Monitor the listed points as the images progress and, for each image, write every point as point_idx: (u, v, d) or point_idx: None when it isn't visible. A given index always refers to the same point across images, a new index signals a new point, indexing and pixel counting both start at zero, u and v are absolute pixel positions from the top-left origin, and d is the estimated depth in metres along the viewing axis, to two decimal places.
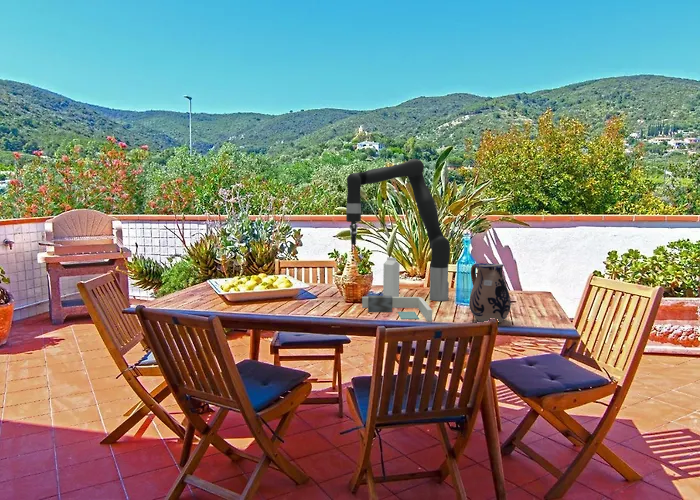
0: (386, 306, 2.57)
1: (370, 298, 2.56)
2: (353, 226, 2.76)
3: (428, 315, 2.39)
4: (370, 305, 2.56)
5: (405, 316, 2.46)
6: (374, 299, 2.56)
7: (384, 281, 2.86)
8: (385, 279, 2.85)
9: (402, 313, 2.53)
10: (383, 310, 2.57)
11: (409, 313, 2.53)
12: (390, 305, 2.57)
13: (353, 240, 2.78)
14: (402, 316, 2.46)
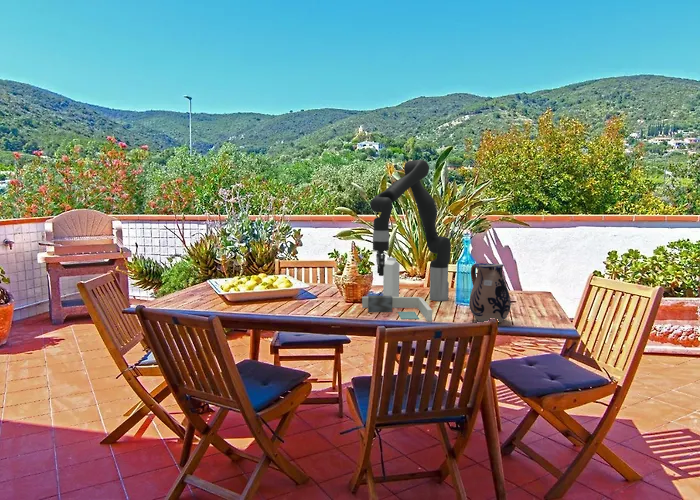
0: (386, 306, 2.57)
1: (370, 298, 2.56)
2: (381, 256, 2.50)
3: (428, 315, 2.39)
4: (370, 305, 2.56)
5: (405, 316, 2.46)
6: (374, 299, 2.56)
7: (384, 281, 2.86)
8: (385, 279, 2.85)
9: (402, 313, 2.53)
10: (383, 310, 2.57)
11: (409, 313, 2.53)
12: (390, 305, 2.57)
13: (381, 271, 2.52)
14: (402, 316, 2.46)
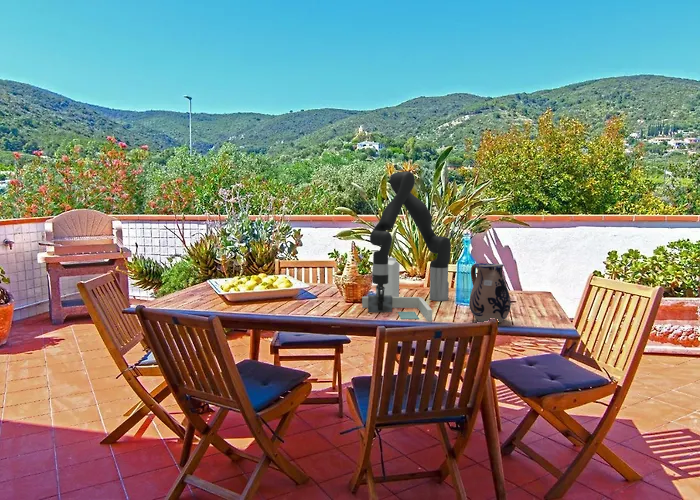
0: (385, 305, 2.57)
1: (370, 298, 2.56)
2: (380, 293, 2.52)
3: (428, 315, 2.39)
4: (370, 305, 2.56)
5: (405, 316, 2.46)
6: (374, 299, 2.56)
7: None
8: None
9: (402, 313, 2.53)
10: (383, 310, 2.57)
11: (409, 313, 2.53)
12: (390, 305, 2.57)
13: (380, 306, 2.55)
14: (402, 316, 2.46)
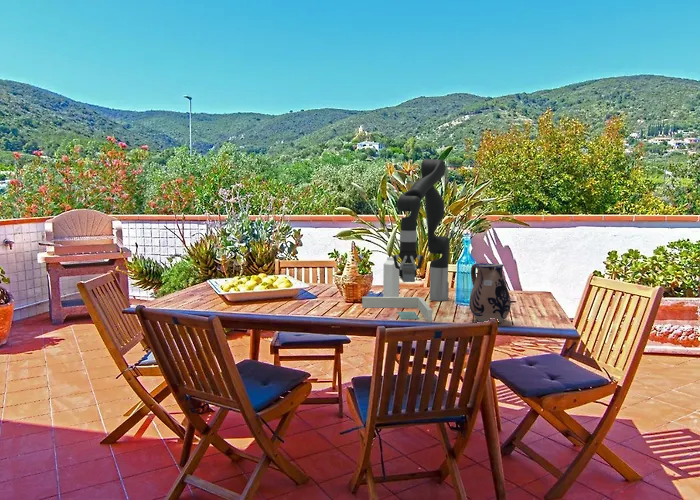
0: (402, 274, 2.45)
1: None
2: (393, 258, 2.48)
3: (428, 315, 2.39)
4: None
5: (405, 316, 2.46)
6: None
7: (384, 281, 2.86)
8: (385, 279, 2.85)
9: (402, 313, 2.53)
10: (402, 278, 2.47)
11: (409, 313, 2.53)
12: (403, 274, 2.43)
13: (399, 273, 2.48)
14: (402, 316, 2.46)
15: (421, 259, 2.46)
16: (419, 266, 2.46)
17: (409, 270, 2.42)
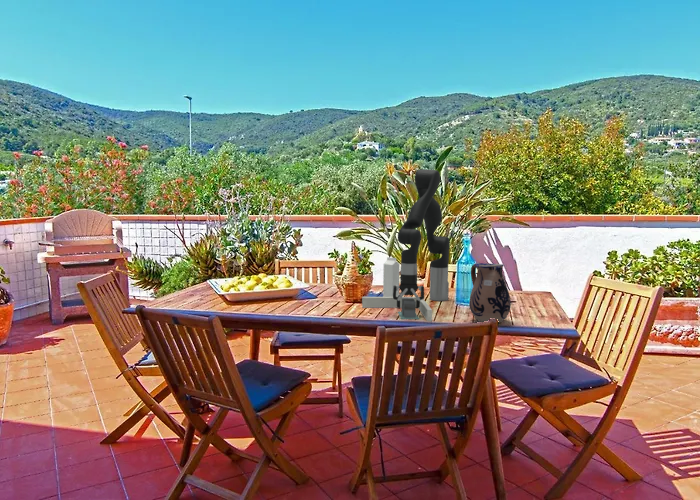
0: (403, 309, 2.47)
1: None
2: (393, 288, 2.49)
3: (428, 315, 2.39)
4: None
5: None
6: (402, 300, 2.52)
7: (384, 281, 2.86)
8: (385, 279, 2.85)
9: None
10: (403, 313, 2.48)
11: None
12: (404, 310, 2.45)
13: None
14: (402, 316, 2.46)
15: (422, 290, 2.47)
16: (422, 297, 2.48)
17: (410, 306, 2.44)
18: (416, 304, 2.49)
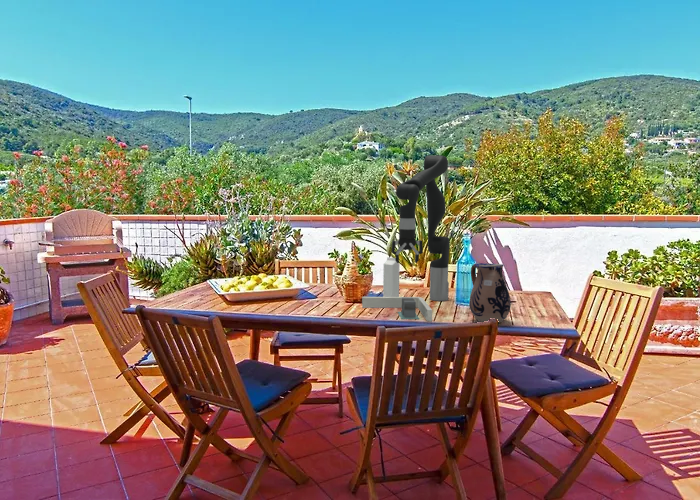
0: (403, 309, 2.47)
1: None
2: (392, 243, 2.53)
3: (428, 315, 2.39)
4: None
5: None
6: (402, 300, 2.52)
7: (384, 281, 2.86)
8: (385, 279, 2.85)
9: None
10: (403, 313, 2.48)
11: None
12: (404, 310, 2.45)
13: (395, 258, 2.54)
14: (402, 316, 2.46)
15: (421, 244, 2.52)
16: (421, 251, 2.53)
17: (410, 306, 2.44)
18: (415, 258, 2.54)
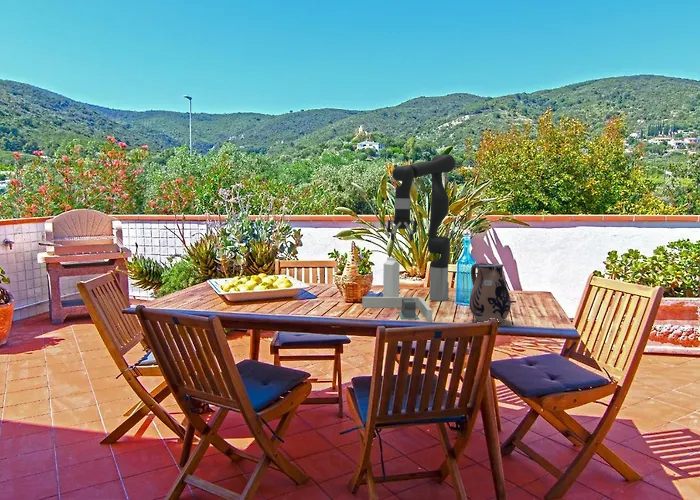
0: (403, 309, 2.47)
1: None
2: None
3: (428, 315, 2.39)
4: None
5: None
6: (402, 300, 2.52)
7: (384, 281, 2.86)
8: (385, 279, 2.85)
9: None
10: (403, 313, 2.48)
11: None
12: (404, 310, 2.45)
13: None
14: (402, 316, 2.46)
15: (415, 223, 2.64)
16: (415, 230, 2.65)
17: (410, 306, 2.44)
18: None
